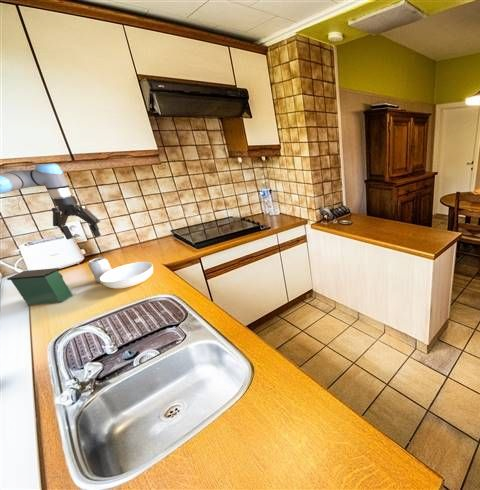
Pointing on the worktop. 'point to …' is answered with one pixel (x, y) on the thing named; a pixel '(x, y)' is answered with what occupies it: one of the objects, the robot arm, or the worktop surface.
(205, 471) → the worktop surface
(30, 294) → the box
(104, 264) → the can
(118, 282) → the serving bowl
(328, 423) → the worktop surface
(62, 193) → the robot arm
